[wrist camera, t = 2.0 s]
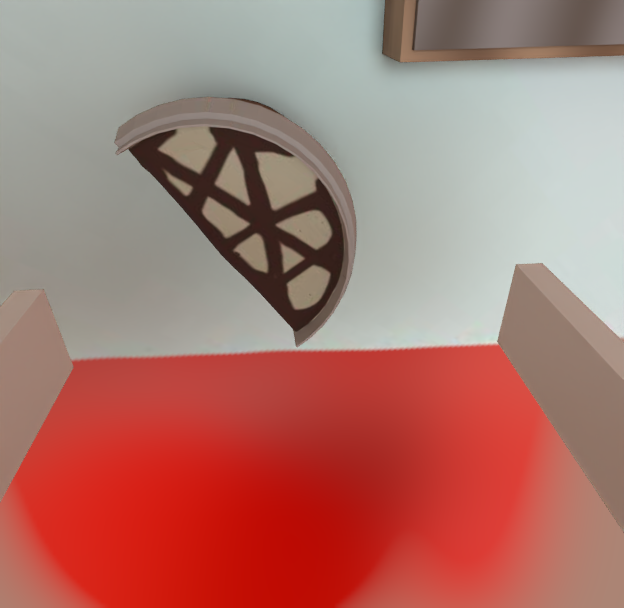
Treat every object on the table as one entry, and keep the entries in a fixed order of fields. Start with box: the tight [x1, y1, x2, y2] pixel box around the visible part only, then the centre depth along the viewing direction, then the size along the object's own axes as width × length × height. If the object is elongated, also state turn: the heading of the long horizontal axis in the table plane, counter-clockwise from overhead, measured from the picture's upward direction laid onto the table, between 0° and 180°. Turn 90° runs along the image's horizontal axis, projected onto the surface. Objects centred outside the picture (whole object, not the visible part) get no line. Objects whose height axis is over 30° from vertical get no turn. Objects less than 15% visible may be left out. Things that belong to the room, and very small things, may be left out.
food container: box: [114, 97, 356, 347], centre depth 23 cm, size 12×6×10 cm, turn 35°
